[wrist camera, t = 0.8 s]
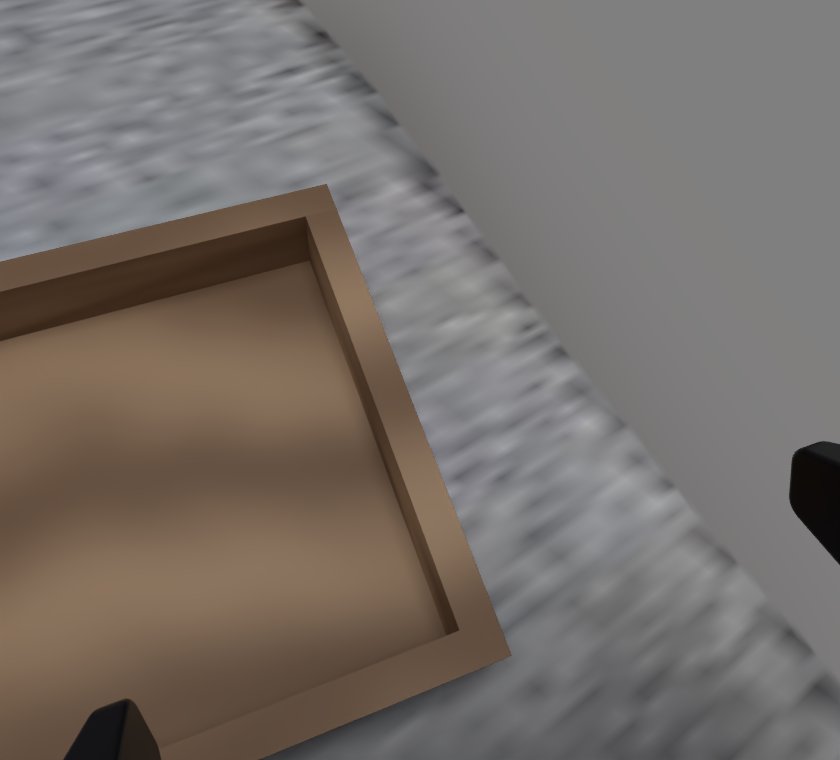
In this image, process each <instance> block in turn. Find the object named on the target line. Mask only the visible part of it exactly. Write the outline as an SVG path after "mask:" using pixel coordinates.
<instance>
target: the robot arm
mask: <svg viewBox="0 0 840 760" xmlns="http://www.w3.org/2000/svg"><path fill="white" fill-rule="evenodd" d="M789 499H790V504H791V506H792V509H793V511H794V512H795V514H796V515H797V517H798V518H799V519H800V520H801V521H802V522H803V523H804V525H805V526H806V527H807V528H808V529H809V530H810V531H811V533H812V534H813V535H814V536H815V537H816V538H817V539H818V540H819V542H820V543H821V544H822V545H823V546H824V547H825V549H826V550H827V551H828V552H829V553H830V554H831V556H832V557H833V558H834V559H835V560H836V561H837V562H838V564H839V565H840V444H836V443H832V442H826V441H822V442H817V443H814V444H811V445H809V446H806V447H803V448H800V449H798V450H797V451H796V452H795V454H794V455H793V457H792V464H791V478H790V491H789ZM63 760H161V755H160V751H159V748H158V745H157V742H156V740H155V738H154V736H153V735H152V733H151V731H150V729H149V727H148V725H147V723H146V722H145V720H144V718H143V716H142V714H141V712H140V710H139V709H138V707H137V705H136V703H135V702H134V701H133V700H131V699H128V698H125V699H122V700H119V701H116V702H114V703H111V704H108V705H105V706H103V707H100V708H98V709H96V710H94V711H93V712H92V713H91V714H90V716H89V717H88V719H87V720H86V722H85V724H84V725H83V727H82V729H81V730H80V732H79V734H78V735H77V737H76V739H75V740H74V742H73V744H72V745H71V747H70V749H69V750H68V752H67V754H66V755H65V757H64V759H63Z"/></svg>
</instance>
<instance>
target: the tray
mask: <svg viewBox="0 0 840 760" xmlns="http://www.w3.org/2000/svg"><path fill="white" fill-rule="evenodd" d="M510 656H512V655H511V652H510V650H509V647H508V645H507V642H506V640H505V637H504V635H503V632H502V629H501V627H500V624H499V622H498V619H497V617H496V614H495V612H494V609H493V607H492V604H491V601H490V599H489V596H488V594H487V591H486V589H485V586H484V584H483V581H482V579H481V576H480V573H479V571H478V568H477V566H476V563H475V561H474V558H473V556H472V553H471V551H470V548H469V545H468V543H467V540H466V538H465V535H464V533H463V530H462V528H461V525H460V522H459V520H458V517H457V515H456V512H455V510H454V507H453V505H452V502H451V500H450V497H449V494H448V492H447V489H446V487H445V484H444V482H443V479H442V477H441V474H440V472H439V469H438V466H437V464H436V461H435V459H434V456H433V454H432V451H431V449H430V446H429V444H428V441H427V438H426V436H425V433H424V431H423V428H422V426H421V423H420V421H419V418H418V415H417V413H416V410H415V408H414V405H413V403H412V400H411V398H410V395H409V393H408V390H407V387H406V385H405V382H404V380H403V377H402V375H401V372H400V370H399V367H398V365H397V362H396V359H395V357H394V354H393V352H392V349H391V347H390V344H389V342H388V339H387V337H386V334H385V331H384V329H383V326H382V324H381V321H380V319H379V316H378V314H377V311H376V308H375V306H374V303H373V301H372V298H371V296H370V293H369V291H368V288H367V286H366V283H365V280H364V278H363V275H362V273H361V270H360V268H359V265H358V263H357V260H356V258H355V255H354V252H353V250H352V247H351V245H350V242H349V240H348V237H347V235H346V232H345V230H344V227H343V224H342V222H341V219H340V217H339V214H338V212H337V209H336V207H335V204H334V201H333V199H332V196H331V194H330V191H329V189H328V186H327V184H325V185H320V186H316V187H312V188H308V189H304V190H299V191H295V192H291V193H287V194H283V195H278V196H274V197H270V198H266V199H262V200H258V201H253V202H249V203H245V204H241V205H237V206H232V207H228V208H224V209H220V210H216V211H211V212H207V213H203V214H199V215H195V216H190V217H186V218H182V219H178V220H174V221H169V222H165V223H161V224H157V225H153V226H148V227H144V228H140V229H136V230H132V231H127V232H123V233H119V234H115V235H111V236H106V237H102V238H98V239H94V240H90V241H86V242H81V243H77V244H73V245H69V246H65V247H60V248H56V249H52V250H48V251H44V252H39V253H35V254H31V255H27V256H23V257H18V258H14V259H10V260H6V261H2V262H0V760H63V759H64V757H65V755H66V754H67V752H68V750H69V749H70V747H71V745H72V744H73V742H74V740H75V739H76V737H77V735H78V734H79V732H80V730H81V729H82V727H83V725H84V724H85V722H86V720H87V719H88V717H89V716H90V714H91V713H92V712H93V711H94V710H96V709H98V708H100V707H103V706H105V705H108V704H111V703H114V702H116V701H119V700H122V699H125V698H128V699H131V700H133V701H134V702H135V703H136V705H137V707H138V709H139V710H140V712H141V714H142V716H143V718H144V720H145V722H146V723H147V725H148V727H149V729H150V731H151V733H152V735H153V736H154V738H155V740H156V742H157V745H158V748H159V751H160V755H161V760H260V759H262V758H264V757H267V756H269V755H272V754H274V753H277V752H279V751H281V750H284V749H286V748H289V747H291V746H294V745H296V744H298V743H301V742H303V741H306V740H308V739H311V738H313V737H315V736H318V735H320V734H323V733H325V732H328V731H330V730H332V729H335V728H337V727H340V726H342V725H345V724H347V723H349V722H352V721H354V720H357V719H359V718H362V717H364V716H367V715H369V714H371V713H374V712H376V711H379V710H381V709H384V708H386V707H388V706H391V705H393V704H396V703H398V702H401V701H403V700H405V699H408V698H410V697H413V696H415V695H418V694H420V693H422V692H425V691H427V690H430V689H432V688H435V687H437V686H439V685H442V684H444V683H447V682H449V681H452V680H454V679H456V678H459V677H461V676H464V675H466V674H469V673H471V672H473V671H476V670H478V669H481V668H483V667H486V666H488V665H490V664H493V663H495V662H498V661H500V660H503V659H505V658H507V657H510Z"/></svg>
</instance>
